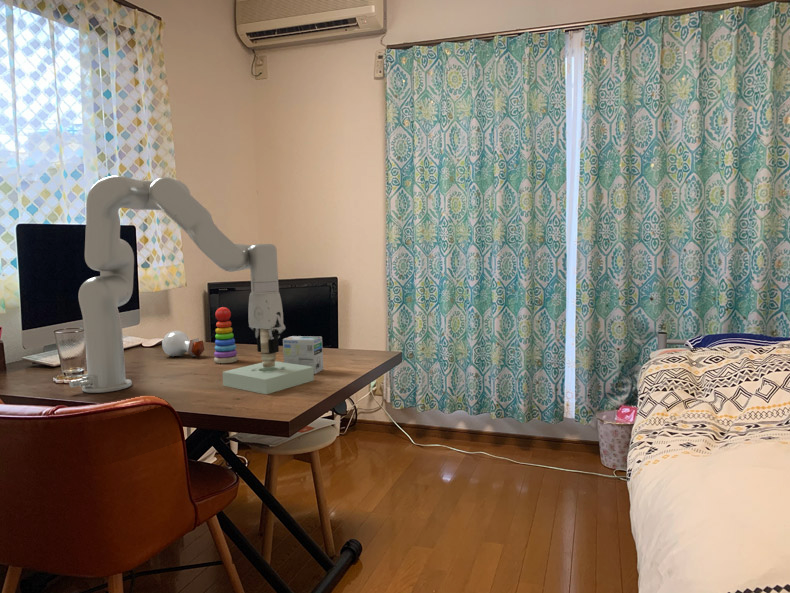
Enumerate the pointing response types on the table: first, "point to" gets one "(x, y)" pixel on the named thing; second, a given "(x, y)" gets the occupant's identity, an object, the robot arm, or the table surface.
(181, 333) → the potion bottle
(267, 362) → the peg
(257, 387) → the board
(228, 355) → the stacking toy
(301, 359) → the light bulb box
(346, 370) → the table surface
